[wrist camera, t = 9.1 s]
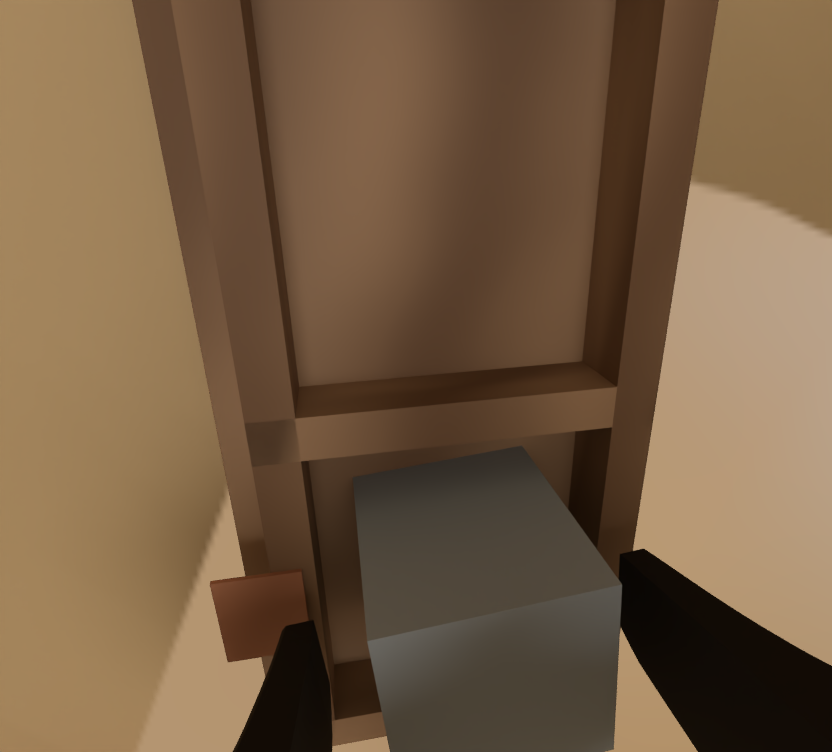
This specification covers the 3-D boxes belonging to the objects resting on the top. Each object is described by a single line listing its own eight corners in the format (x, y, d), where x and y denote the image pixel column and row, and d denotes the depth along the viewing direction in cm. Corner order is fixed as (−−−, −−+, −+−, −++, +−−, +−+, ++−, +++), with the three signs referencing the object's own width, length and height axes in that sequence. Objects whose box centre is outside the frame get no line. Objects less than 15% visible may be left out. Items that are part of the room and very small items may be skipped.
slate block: (521, 445, 14) (622, 584, 9) (527, 576, 15) (613, 749, 11) (352, 477, 13) (367, 641, 9) (377, 608, 15) (401, 804, 10)
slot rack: (698, -100, 10) (809, -181, 8) (598, 632, 18) (641, 703, 15) (102, -126, 9) (20, -235, 6) (265, 688, 16) (254, 777, 14)
